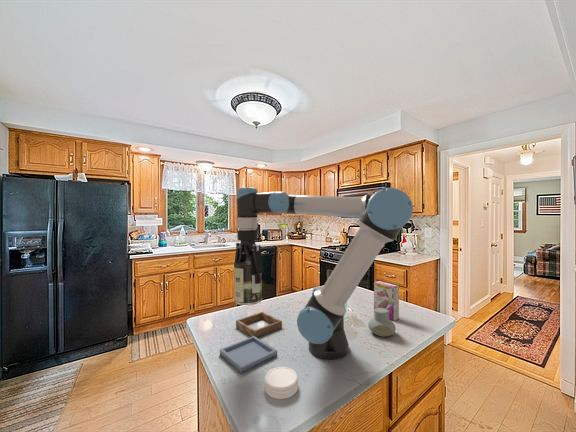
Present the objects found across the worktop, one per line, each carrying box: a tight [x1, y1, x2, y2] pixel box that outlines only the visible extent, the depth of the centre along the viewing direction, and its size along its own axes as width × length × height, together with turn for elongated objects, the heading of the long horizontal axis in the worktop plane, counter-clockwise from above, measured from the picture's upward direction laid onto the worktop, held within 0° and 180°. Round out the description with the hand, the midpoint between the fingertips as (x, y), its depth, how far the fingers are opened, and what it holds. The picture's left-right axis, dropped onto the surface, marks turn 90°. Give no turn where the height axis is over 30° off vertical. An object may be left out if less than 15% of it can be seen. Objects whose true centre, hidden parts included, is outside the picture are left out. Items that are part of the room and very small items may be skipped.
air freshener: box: [368, 308, 396, 338], centre depth 106 cm, size 11×8×10 cm
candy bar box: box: [373, 280, 400, 322], centre depth 123 cm, size 11×5×16 cm, turn 34°
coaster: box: [263, 366, 299, 400], centre depth 73 cm, size 10×10×4 cm
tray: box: [219, 336, 278, 375], centre depth 90 cm, size 15×15×2 cm
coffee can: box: [233, 260, 263, 306], centre depth 92 cm, size 10×10×14 cm
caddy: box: [235, 311, 283, 339], centre depth 113 cm, size 15×15×3 cm
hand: (248, 289), depth 92 cm, fingers closed on coffee can, 10 cm apart
